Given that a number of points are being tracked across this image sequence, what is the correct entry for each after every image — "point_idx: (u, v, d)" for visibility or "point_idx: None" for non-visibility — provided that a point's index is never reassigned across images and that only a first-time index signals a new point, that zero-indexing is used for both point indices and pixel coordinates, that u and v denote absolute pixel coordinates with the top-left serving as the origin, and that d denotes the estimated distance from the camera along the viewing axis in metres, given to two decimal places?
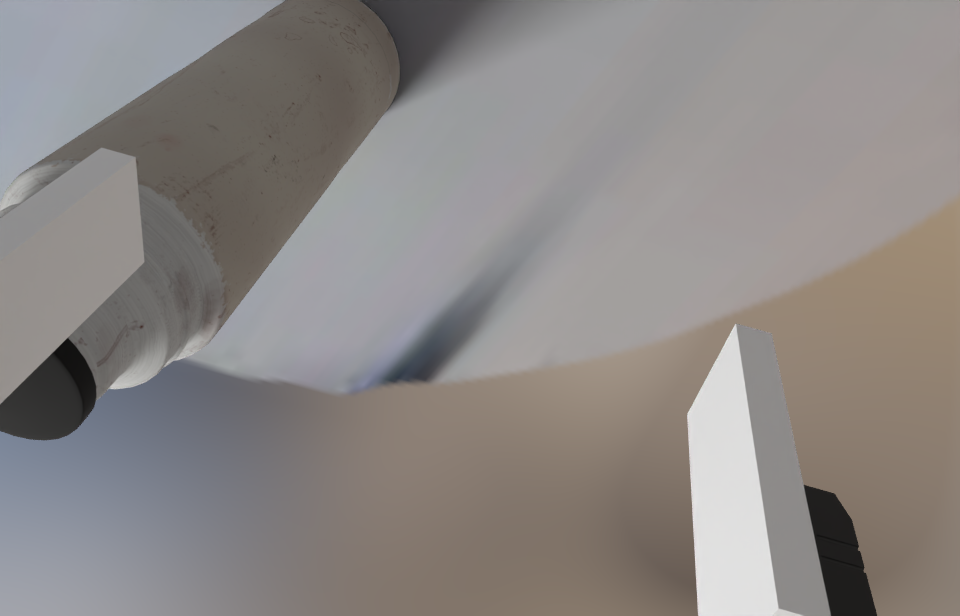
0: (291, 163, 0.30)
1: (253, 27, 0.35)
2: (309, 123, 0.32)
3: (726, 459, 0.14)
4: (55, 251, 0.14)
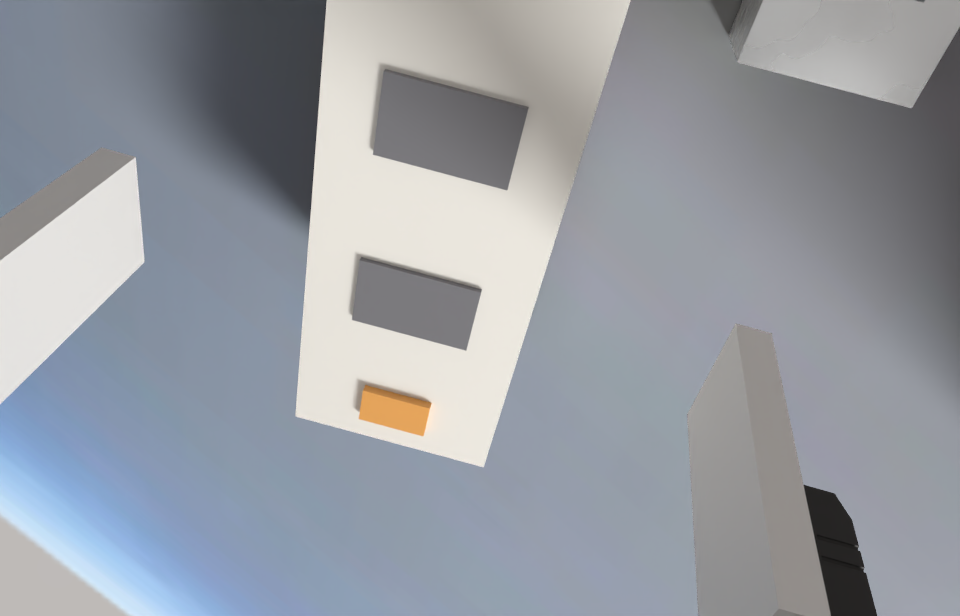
0: None
1: None
2: None
3: (726, 458, 0.14)
4: (55, 251, 0.14)
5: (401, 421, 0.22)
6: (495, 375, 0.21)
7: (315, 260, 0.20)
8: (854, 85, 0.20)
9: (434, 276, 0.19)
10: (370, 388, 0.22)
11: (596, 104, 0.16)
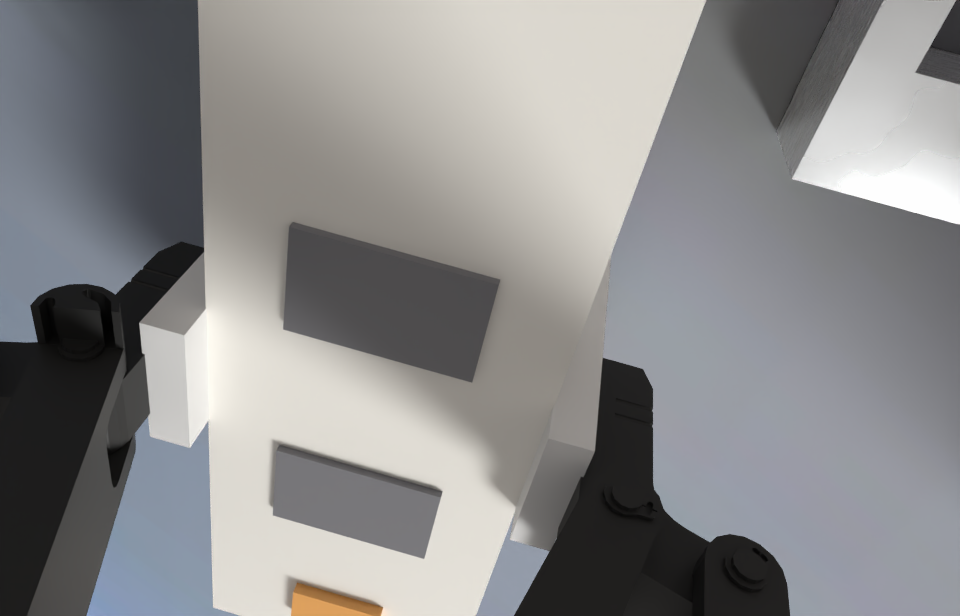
0: None
1: None
2: None
3: None
4: None
5: None
6: (463, 585, 0.16)
7: (219, 444, 0.15)
8: (951, 212, 0.15)
9: (378, 473, 0.14)
10: (303, 588, 0.17)
11: (599, 281, 0.11)
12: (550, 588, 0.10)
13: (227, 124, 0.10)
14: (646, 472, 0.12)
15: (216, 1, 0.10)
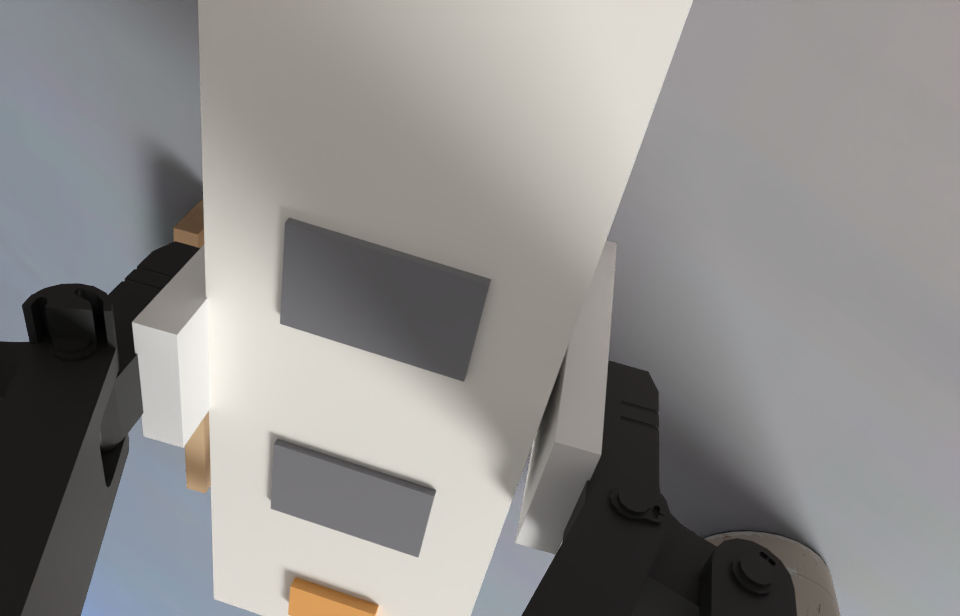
0: None
1: None
2: None
3: None
4: None
5: None
6: (458, 585, 0.16)
7: (220, 436, 0.15)
8: None
9: (372, 470, 0.14)
10: (300, 583, 0.17)
11: (588, 283, 0.11)
12: (556, 592, 0.10)
13: (226, 121, 0.11)
14: (652, 475, 0.12)
15: None
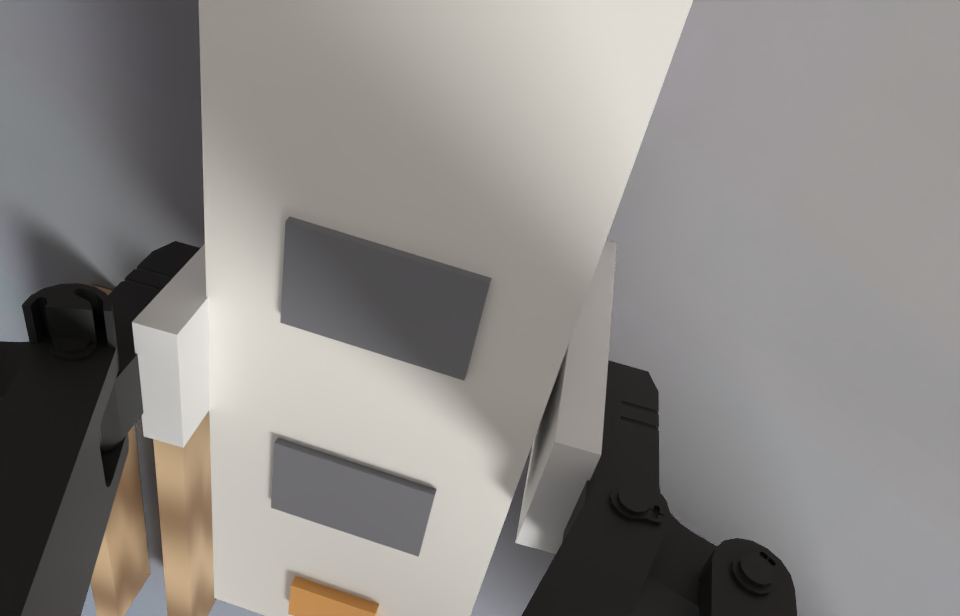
0: None
1: None
2: None
3: None
4: None
5: None
6: (458, 584, 0.16)
7: (220, 435, 0.15)
8: None
9: (373, 468, 0.14)
10: (301, 582, 0.17)
11: (589, 281, 0.11)
12: (556, 591, 0.10)
13: (226, 119, 0.11)
14: (652, 475, 0.12)
15: None
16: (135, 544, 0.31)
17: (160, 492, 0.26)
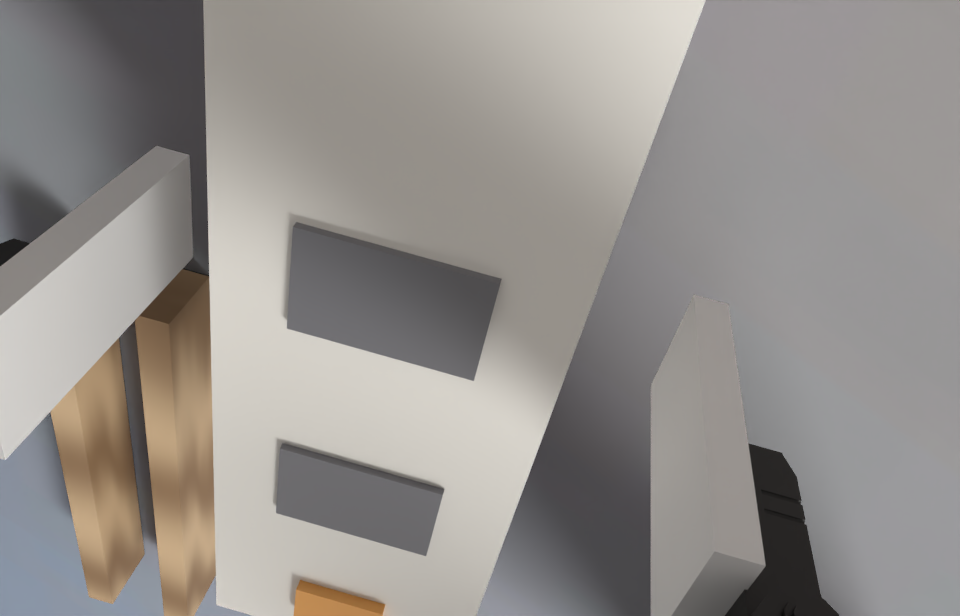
0: None
1: None
2: None
3: (680, 422, 0.14)
4: (119, 246, 0.14)
5: None
6: (465, 582, 0.16)
7: (223, 443, 0.15)
8: None
9: (380, 470, 0.14)
10: (306, 585, 0.17)
11: (599, 280, 0.11)
12: None
13: (233, 126, 0.11)
14: (811, 581, 0.11)
15: (221, 4, 0.10)
16: (128, 521, 0.30)
17: (151, 460, 0.24)
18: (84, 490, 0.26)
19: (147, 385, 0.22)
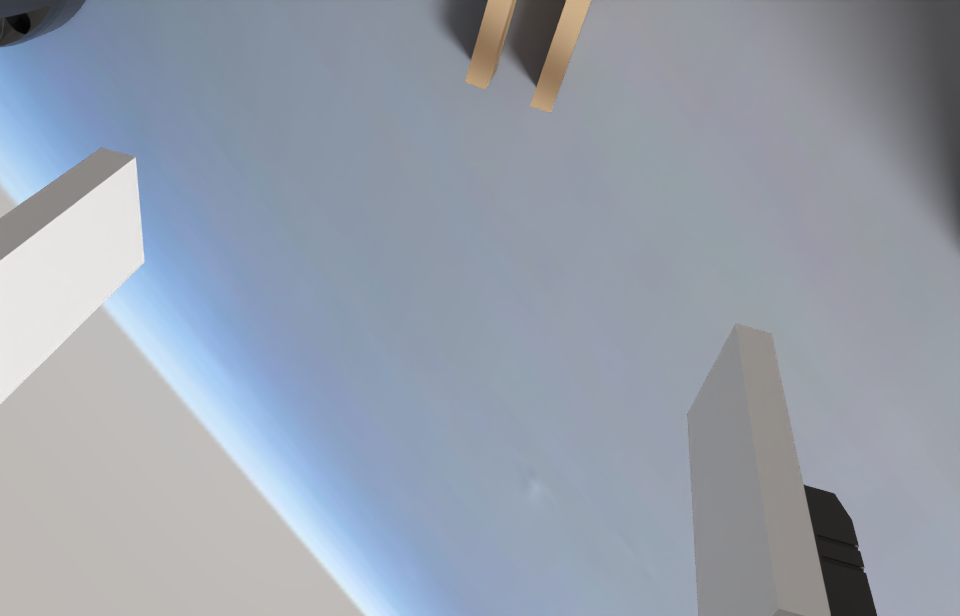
0: None
1: None
2: None
3: (727, 458, 0.14)
4: (55, 251, 0.14)
5: None
6: None
7: None
8: None
9: None
10: None
11: None
12: None
13: None
14: None
15: None
16: (513, 9, 0.34)
17: None
18: None
19: None
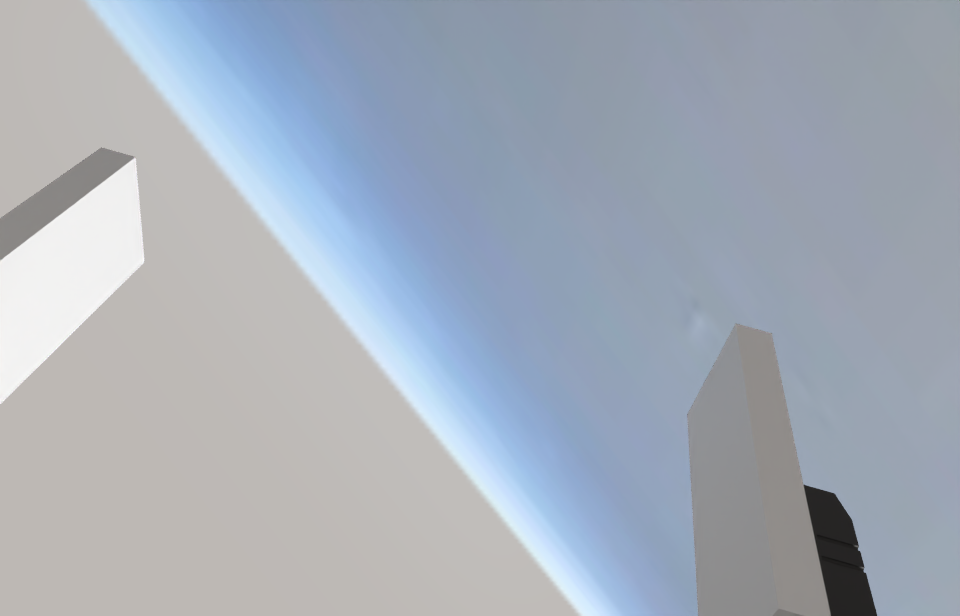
0: None
1: None
2: None
3: (726, 459, 0.14)
4: (55, 251, 0.14)
5: None
6: None
7: None
8: None
9: None
10: None
11: None
12: None
13: None
14: None
15: None
16: None
17: None
18: None
19: None
